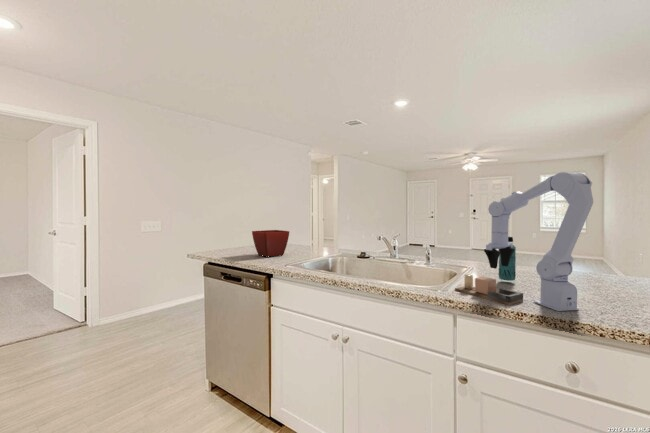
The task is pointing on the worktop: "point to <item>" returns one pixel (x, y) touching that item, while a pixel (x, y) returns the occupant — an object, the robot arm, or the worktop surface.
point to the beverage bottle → (509, 270)
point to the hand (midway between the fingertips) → (499, 267)
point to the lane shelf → (496, 295)
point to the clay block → (480, 284)
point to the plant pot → (270, 242)
